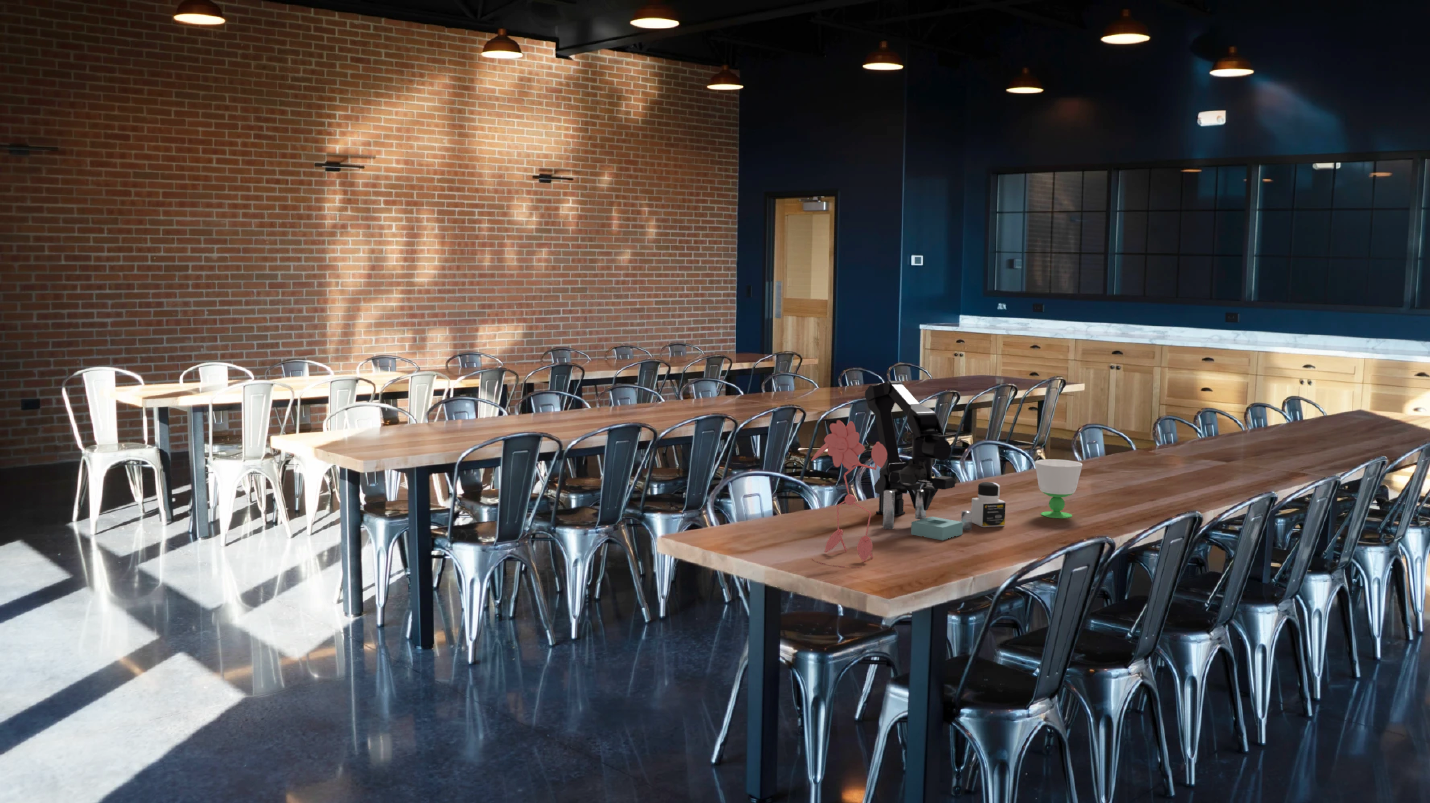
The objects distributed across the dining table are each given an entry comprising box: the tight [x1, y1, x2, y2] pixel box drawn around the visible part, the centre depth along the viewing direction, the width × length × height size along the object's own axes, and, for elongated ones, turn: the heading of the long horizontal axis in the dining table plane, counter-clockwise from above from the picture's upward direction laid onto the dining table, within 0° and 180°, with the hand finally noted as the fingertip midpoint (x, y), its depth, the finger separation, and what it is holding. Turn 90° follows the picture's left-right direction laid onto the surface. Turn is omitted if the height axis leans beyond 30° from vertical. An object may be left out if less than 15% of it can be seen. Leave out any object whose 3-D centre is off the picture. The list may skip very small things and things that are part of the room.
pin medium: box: [914, 489, 927, 520], centre depth 328 cm, size 3×3×8 cm
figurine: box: [810, 419, 887, 569], centre depth 287 cm, size 15×26×35 cm, turn 40°
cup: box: [1034, 458, 1083, 519], centre depth 344 cm, size 14×14×16 cm
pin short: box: [960, 510, 973, 531], centre depth 324 cm, size 3×3×5 cm
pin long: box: [882, 490, 895, 530], centre depth 324 cm, size 3×3×10 cm
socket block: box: [910, 516, 964, 541], centre depth 317 cm, size 10×10×4 cm
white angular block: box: [970, 481, 1007, 528], centre depth 331 cm, size 7×7×12 cm
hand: (920, 509), depth 329 cm, fingers closed on pin medium, 3 cm apart
